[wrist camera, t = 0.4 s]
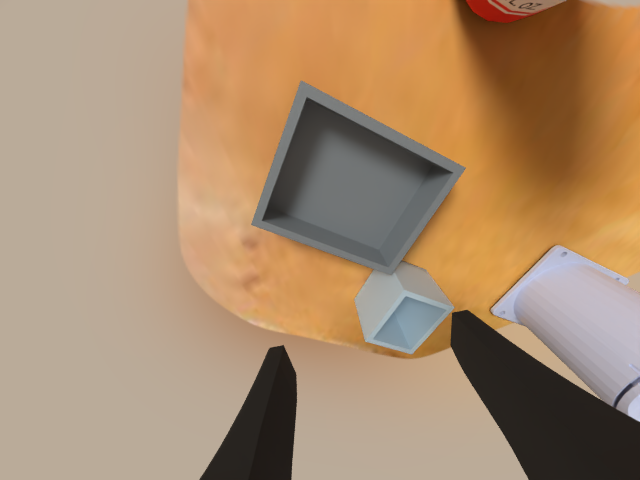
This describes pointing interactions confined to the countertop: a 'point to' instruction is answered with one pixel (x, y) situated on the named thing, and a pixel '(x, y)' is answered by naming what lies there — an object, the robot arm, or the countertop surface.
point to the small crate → (401, 307)
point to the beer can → (509, 8)
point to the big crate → (351, 183)
